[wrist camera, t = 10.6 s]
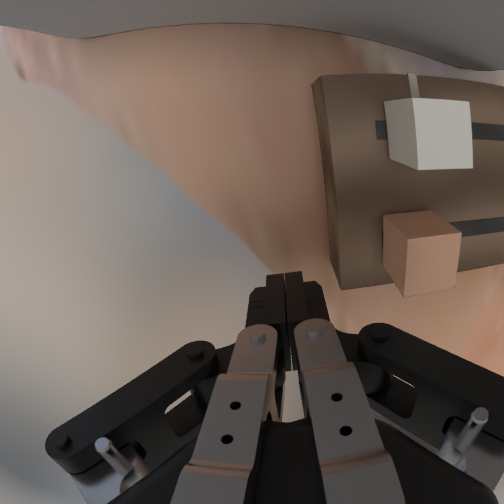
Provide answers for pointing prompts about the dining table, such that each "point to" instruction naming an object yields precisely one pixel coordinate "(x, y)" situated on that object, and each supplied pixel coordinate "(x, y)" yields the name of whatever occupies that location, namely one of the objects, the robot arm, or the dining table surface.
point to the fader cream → (429, 133)
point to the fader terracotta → (420, 252)
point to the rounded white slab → (291, 21)
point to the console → (405, 172)
